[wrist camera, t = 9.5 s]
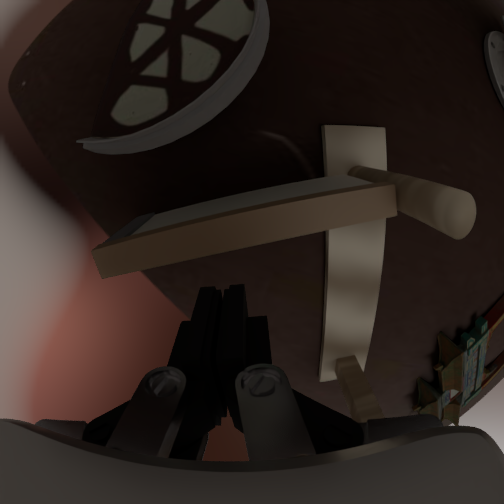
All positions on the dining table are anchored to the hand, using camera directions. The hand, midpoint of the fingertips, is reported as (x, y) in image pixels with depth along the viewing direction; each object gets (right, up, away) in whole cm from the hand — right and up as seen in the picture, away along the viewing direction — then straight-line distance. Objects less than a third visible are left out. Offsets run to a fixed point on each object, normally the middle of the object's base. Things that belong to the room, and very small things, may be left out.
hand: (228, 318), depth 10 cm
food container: (-2, +15, +6) cm, 16 cm away
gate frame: (+9, +1, +12) cm, 15 cm away
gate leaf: (0, +6, +8) cm, 10 cm away
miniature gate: (+38, -13, +19) cm, 44 cm away
